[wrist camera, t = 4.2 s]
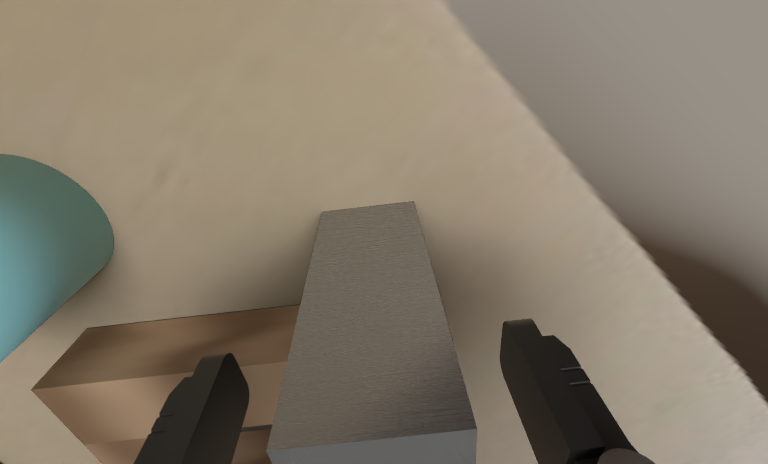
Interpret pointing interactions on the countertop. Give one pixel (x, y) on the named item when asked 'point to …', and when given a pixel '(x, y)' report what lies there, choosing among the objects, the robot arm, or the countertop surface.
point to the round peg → (44, 245)
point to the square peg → (372, 352)
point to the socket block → (165, 377)
